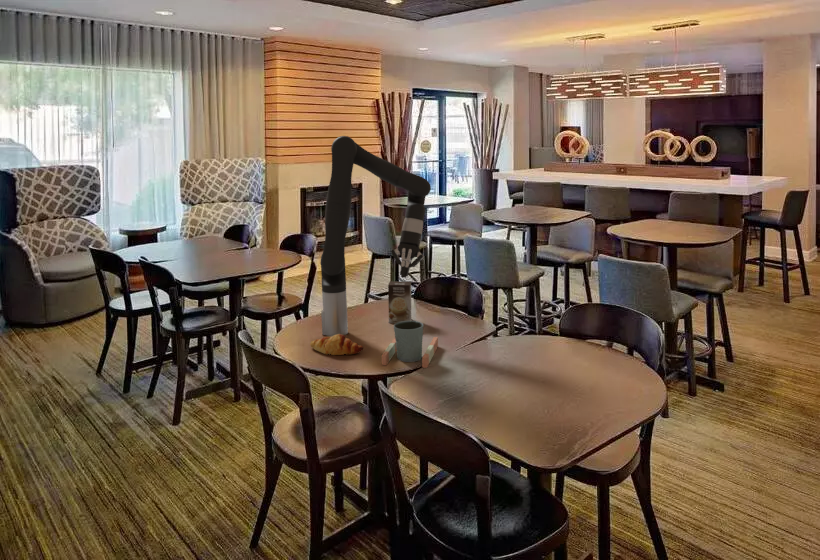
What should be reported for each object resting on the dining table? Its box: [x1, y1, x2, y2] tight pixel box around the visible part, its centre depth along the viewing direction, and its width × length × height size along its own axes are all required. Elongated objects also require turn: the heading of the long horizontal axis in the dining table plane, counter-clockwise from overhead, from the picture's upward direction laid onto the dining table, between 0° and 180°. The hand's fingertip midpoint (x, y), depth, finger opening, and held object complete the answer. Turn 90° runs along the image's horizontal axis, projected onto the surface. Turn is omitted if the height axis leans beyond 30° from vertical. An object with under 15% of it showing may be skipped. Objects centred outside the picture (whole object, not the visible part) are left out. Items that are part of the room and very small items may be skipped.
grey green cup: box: [393, 320, 424, 363], centre depth 231 cm, size 10×10×12 cm
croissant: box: [309, 334, 364, 356], centre depth 240 cm, size 21×10×8 cm
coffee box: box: [387, 281, 412, 324], centre depth 274 cm, size 9×6×16 cm
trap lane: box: [381, 336, 439, 369], centre depth 235 cm, size 15×22×4 cm
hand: (403, 277), depth 250 cm, fingers closed
